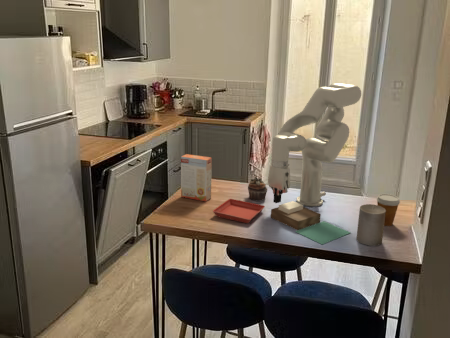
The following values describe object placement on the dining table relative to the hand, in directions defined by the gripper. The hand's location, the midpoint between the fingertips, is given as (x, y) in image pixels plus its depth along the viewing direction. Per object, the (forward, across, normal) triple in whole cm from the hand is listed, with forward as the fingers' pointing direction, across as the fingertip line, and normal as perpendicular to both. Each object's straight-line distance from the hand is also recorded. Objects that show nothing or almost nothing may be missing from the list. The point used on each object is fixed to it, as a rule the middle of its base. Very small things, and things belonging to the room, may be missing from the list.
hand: (277, 202), depth 196 cm
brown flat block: (+5, -12, 0) cm, 12 cm away
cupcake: (+5, +19, -5) cm, 20 cm away
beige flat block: (+1, -8, 0) cm, 9 cm away
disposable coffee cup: (+5, -36, -30) cm, 47 cm away
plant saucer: (+5, +8, +16) cm, 18 cm away
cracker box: (+5, +35, +20) cm, 41 cm away
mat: (+5, -27, 0) cm, 27 cm away
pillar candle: (+5, -42, -9) cm, 44 cm away
